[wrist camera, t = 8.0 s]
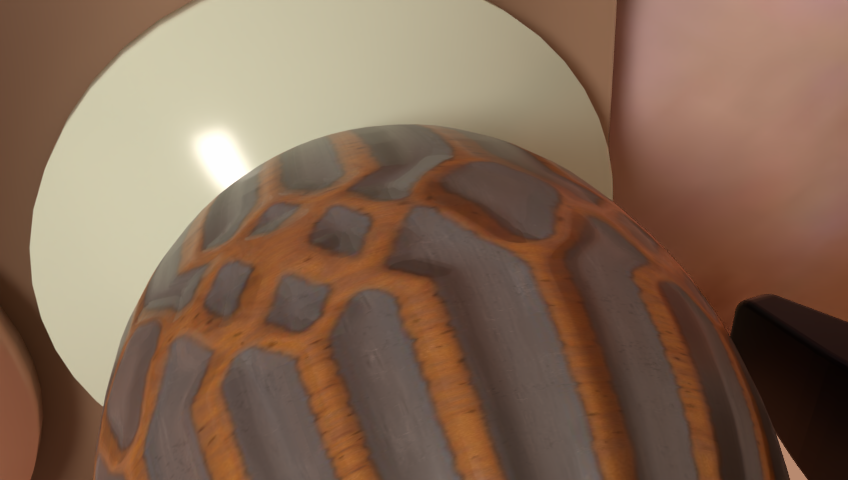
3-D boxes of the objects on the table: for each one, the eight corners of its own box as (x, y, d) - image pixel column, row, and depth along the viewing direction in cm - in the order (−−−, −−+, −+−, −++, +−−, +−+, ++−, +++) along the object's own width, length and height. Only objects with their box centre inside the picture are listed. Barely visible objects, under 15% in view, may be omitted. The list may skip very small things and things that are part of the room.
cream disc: (608, -87, 9) (631, -81, 9) (587, 371, 15) (600, 391, 14) (-94, 33, 8) (-113, 48, 7) (155, 500, 13) (155, 527, 13)
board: (592, -217, 9) (629, -219, 9) (573, 385, 16) (592, 416, 15) (-1325, 38, 6) (-1551, 74, 5) (-345, 661, 13) (-381, 719, 12)
